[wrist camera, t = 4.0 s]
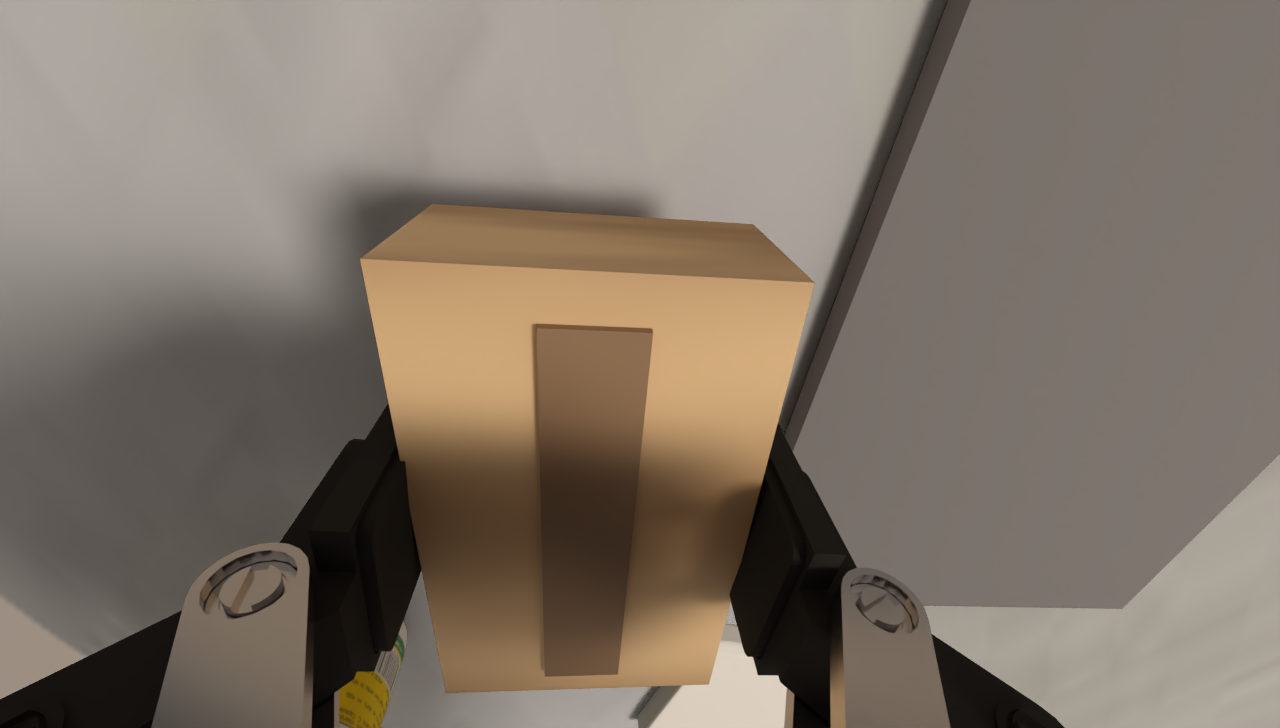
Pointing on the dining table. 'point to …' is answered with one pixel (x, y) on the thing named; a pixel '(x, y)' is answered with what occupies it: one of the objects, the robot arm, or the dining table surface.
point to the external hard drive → (721, 695)
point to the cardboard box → (581, 433)
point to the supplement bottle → (372, 689)
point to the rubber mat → (1058, 304)
